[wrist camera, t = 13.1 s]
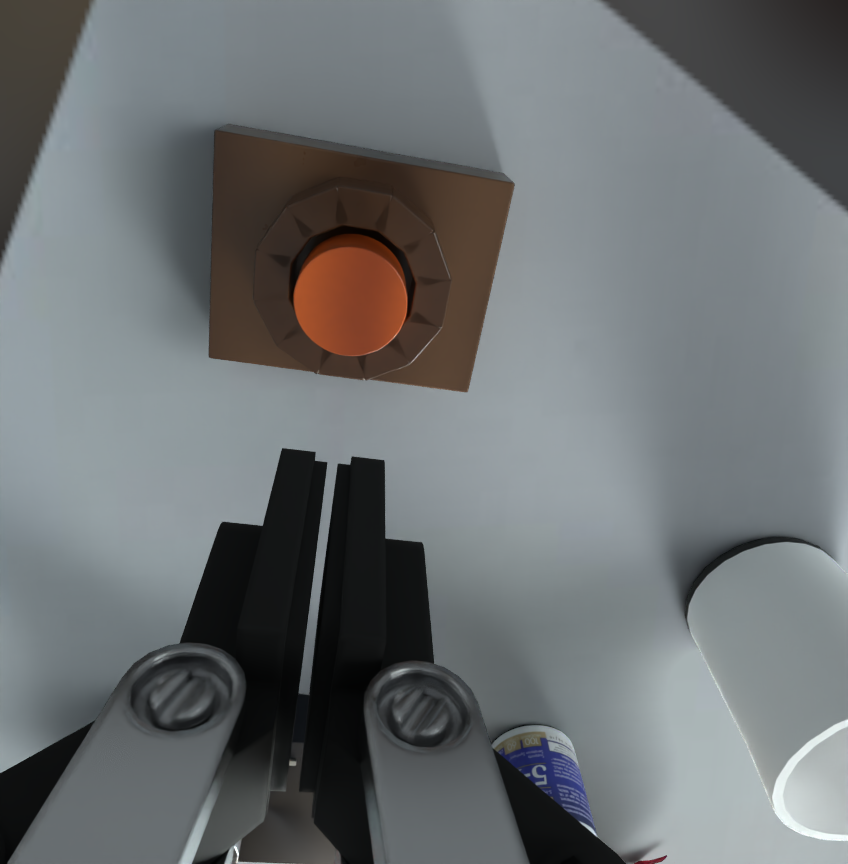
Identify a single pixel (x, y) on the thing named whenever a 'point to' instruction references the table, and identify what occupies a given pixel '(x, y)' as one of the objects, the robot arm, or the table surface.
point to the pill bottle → (548, 766)
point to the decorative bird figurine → (651, 861)
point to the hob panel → (289, 816)
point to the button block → (350, 214)
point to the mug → (783, 671)
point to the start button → (351, 295)
